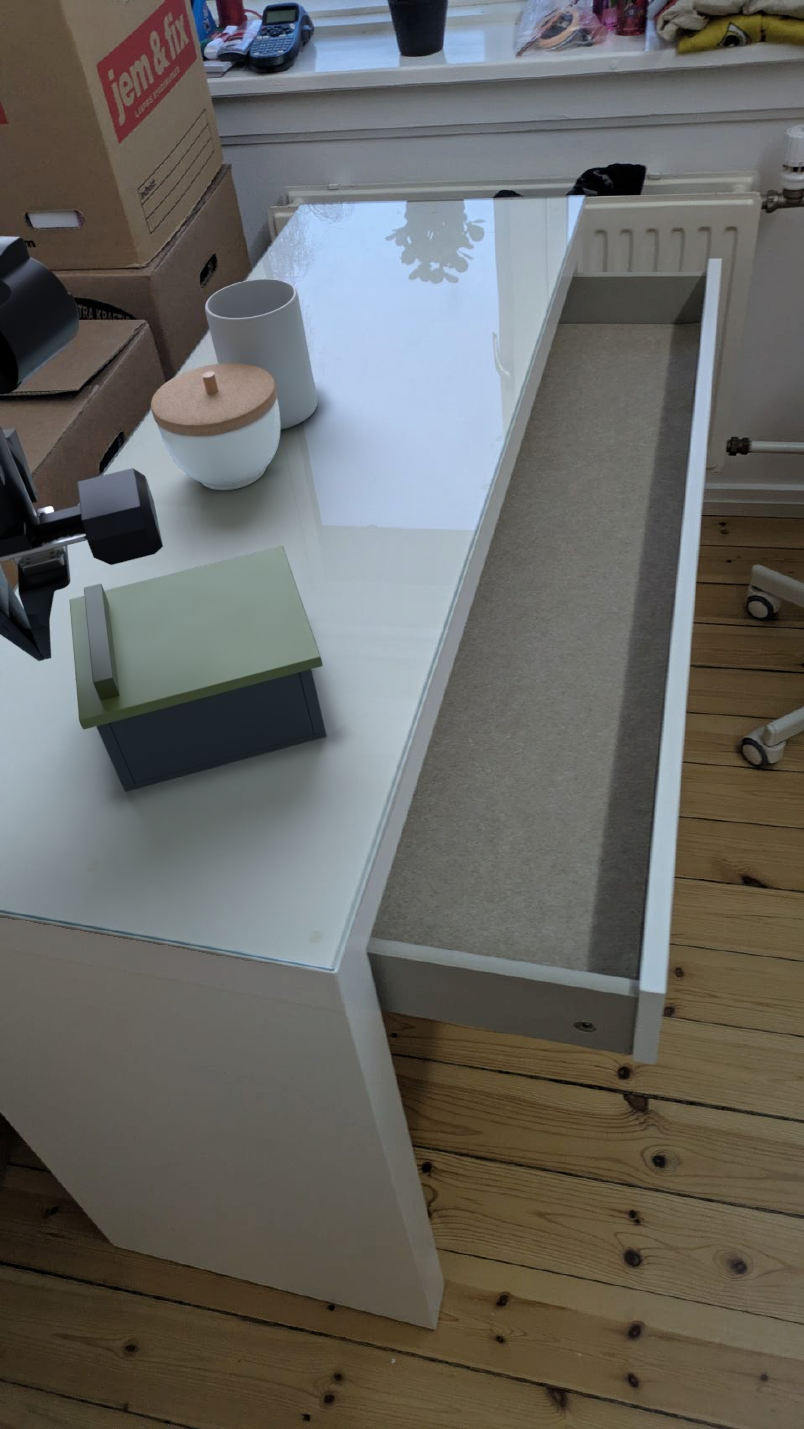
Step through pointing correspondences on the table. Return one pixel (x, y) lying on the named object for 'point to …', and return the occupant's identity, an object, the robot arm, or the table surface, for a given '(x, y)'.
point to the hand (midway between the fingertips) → (45, 655)
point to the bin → (214, 730)
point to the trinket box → (220, 423)
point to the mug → (266, 340)
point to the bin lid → (188, 636)
